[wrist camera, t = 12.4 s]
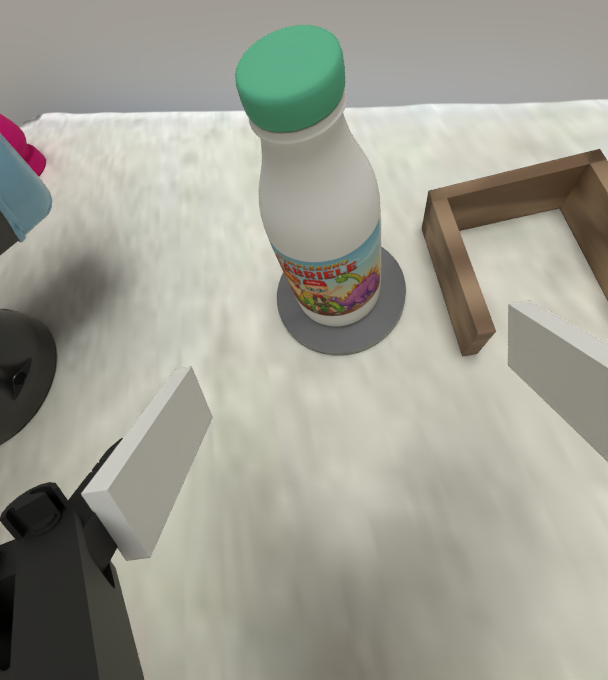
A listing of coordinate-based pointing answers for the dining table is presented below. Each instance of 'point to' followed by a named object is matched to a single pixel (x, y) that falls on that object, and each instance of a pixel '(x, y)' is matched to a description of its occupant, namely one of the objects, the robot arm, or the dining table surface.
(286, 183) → the milk bottle
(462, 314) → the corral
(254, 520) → the dining table surface
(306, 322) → the coaster
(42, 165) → the pepper mill
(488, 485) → the dining table surface
